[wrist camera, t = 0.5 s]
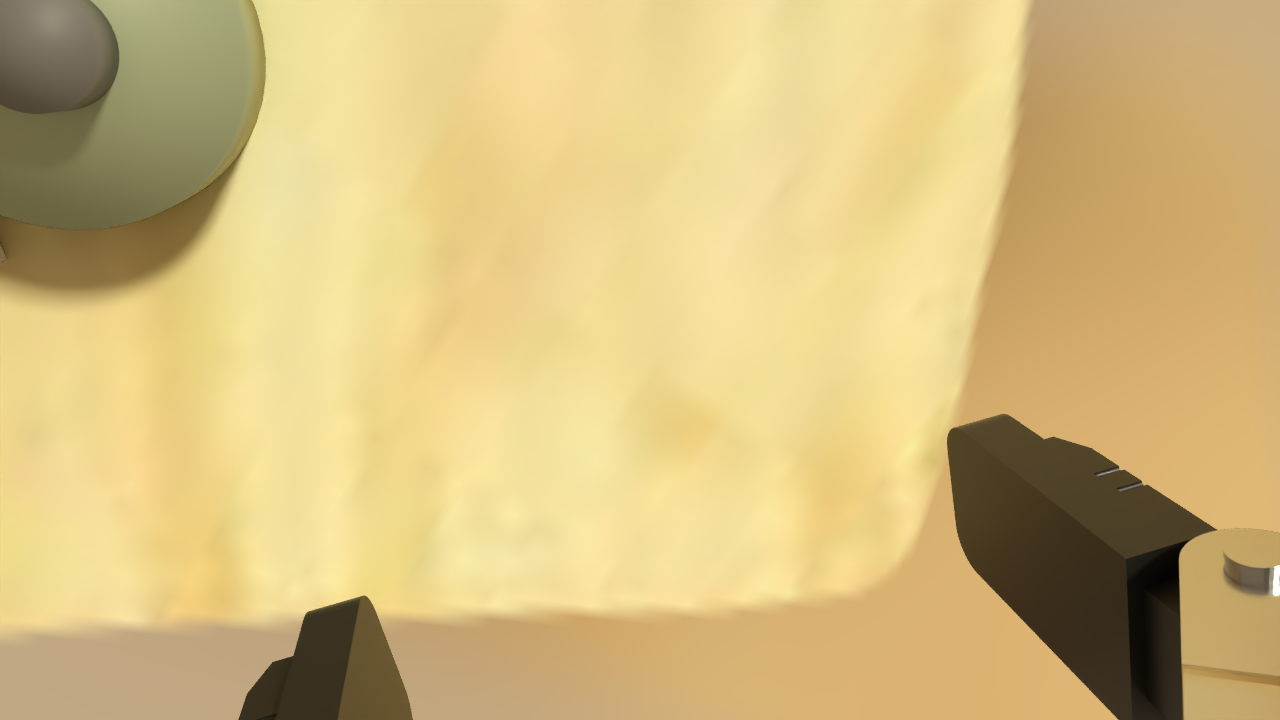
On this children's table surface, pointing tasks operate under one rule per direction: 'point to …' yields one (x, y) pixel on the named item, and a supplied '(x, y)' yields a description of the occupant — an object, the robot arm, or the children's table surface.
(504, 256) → the children's table surface
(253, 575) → the children's table surface
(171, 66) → the grey bracket and lid
